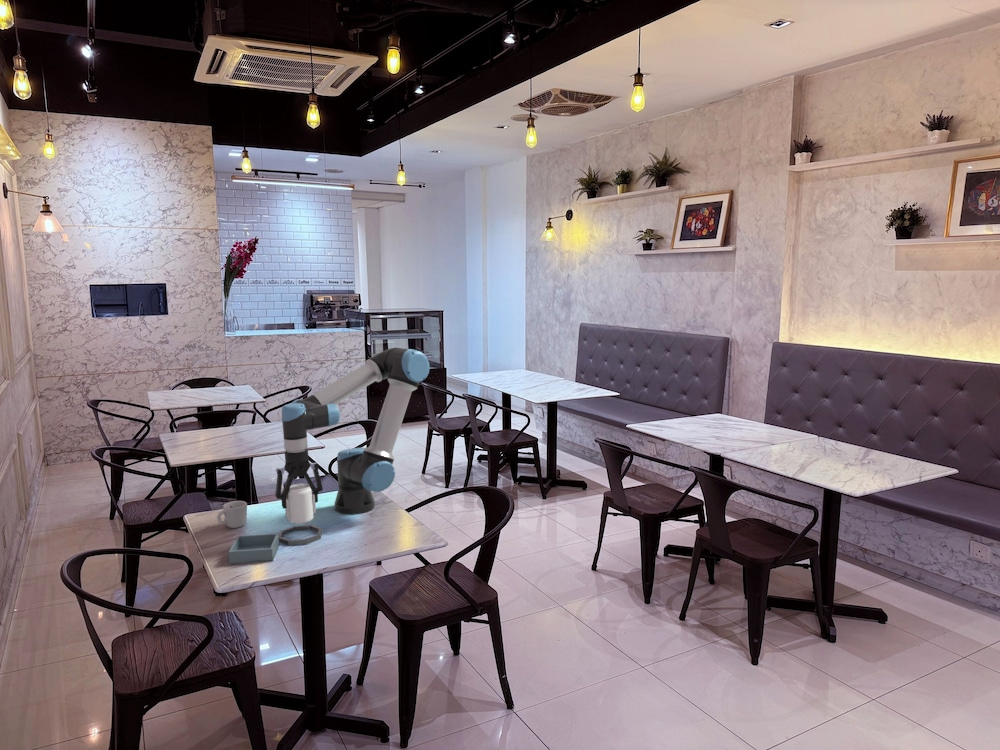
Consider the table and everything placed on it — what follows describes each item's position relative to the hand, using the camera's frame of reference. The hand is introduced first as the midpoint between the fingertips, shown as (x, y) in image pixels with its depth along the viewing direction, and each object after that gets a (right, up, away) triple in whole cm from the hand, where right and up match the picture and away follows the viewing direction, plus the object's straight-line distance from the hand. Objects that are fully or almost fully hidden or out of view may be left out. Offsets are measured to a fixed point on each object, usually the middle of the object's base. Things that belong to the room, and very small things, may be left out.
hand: (300, 514), depth 228 cm
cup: (-27, -7, +10) cm, 30 cm away
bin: (-11, -10, -13) cm, 20 cm away
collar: (0, -8, +1) cm, 8 cm away
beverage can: (0, -2, 0) cm, 2 cm away
